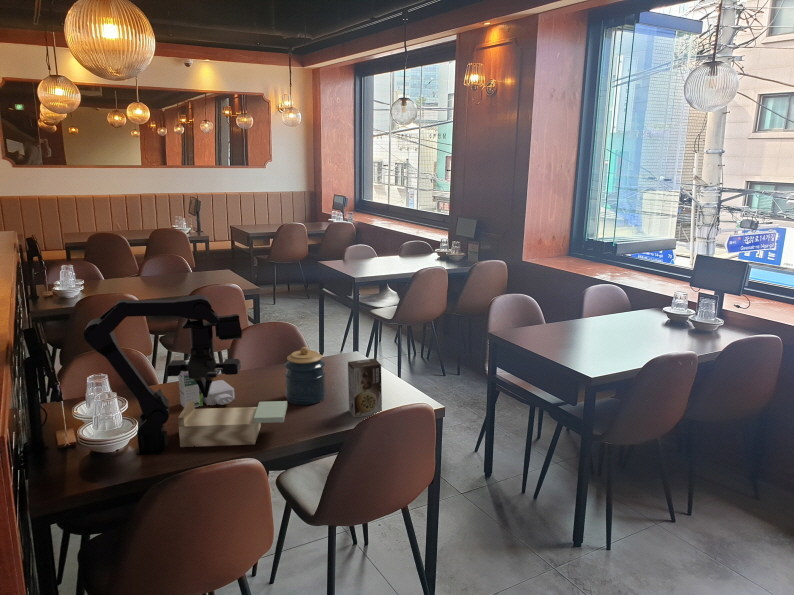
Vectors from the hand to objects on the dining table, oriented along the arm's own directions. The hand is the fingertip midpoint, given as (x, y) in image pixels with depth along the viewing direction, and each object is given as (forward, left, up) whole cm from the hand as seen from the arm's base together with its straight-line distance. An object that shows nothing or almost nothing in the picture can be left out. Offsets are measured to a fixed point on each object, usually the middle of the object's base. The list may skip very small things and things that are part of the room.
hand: (206, 397), depth 167 cm
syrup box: (-11, +27, -13) cm, 32 cm away
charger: (-3, +29, -14) cm, 32 cm away
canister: (+25, +30, -13) cm, 41 cm away
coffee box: (+44, +17, -13) cm, 49 cm away
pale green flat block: (+13, +3, -7) cm, 15 cm away
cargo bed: (+3, +3, -13) cm, 14 cm away
